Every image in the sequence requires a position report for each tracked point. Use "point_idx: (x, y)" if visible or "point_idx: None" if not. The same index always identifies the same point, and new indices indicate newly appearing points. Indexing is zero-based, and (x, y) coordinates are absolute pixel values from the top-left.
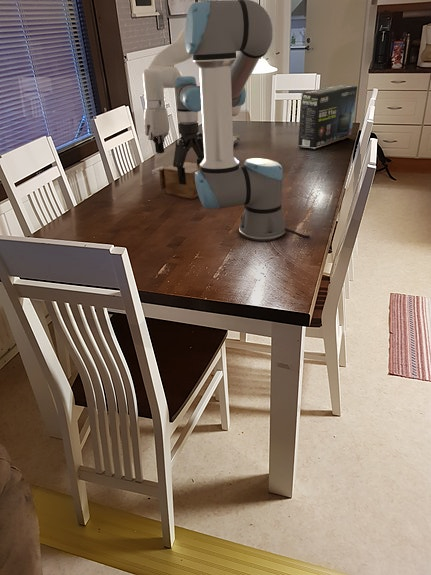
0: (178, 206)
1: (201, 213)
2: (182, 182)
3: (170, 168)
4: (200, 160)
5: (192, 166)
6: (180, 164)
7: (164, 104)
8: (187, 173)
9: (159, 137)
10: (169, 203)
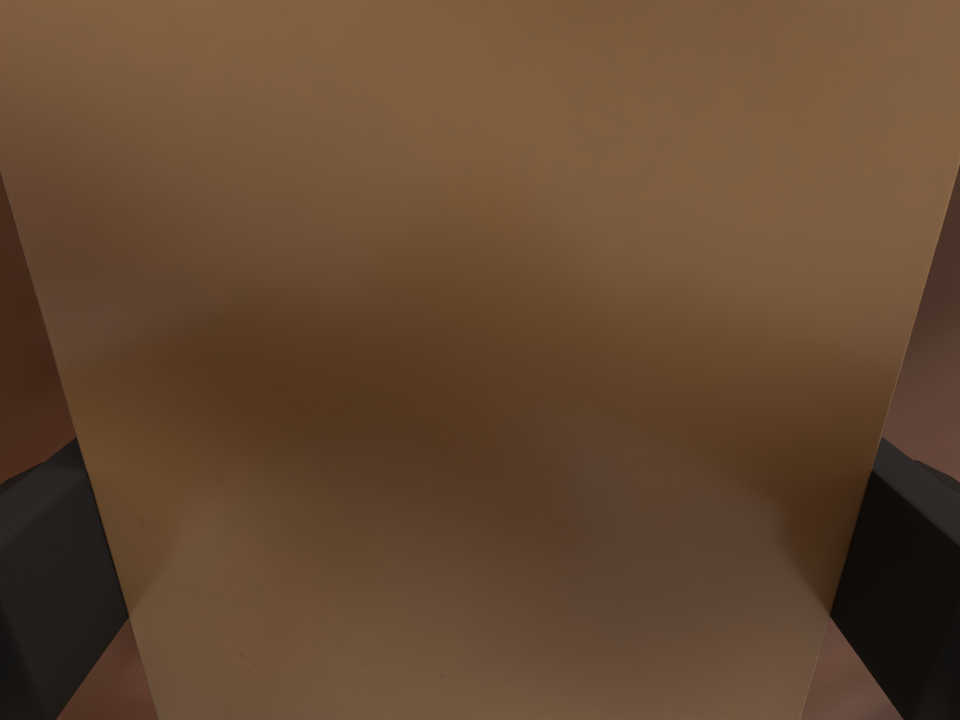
0: (55, 450)
1: (102, 697)
2: None
3: (51, 41)
4: (915, 661)
5: (600, 509)
6: (633, 40)
7: None
8: (155, 654)
9: None
10: (34, 307)
